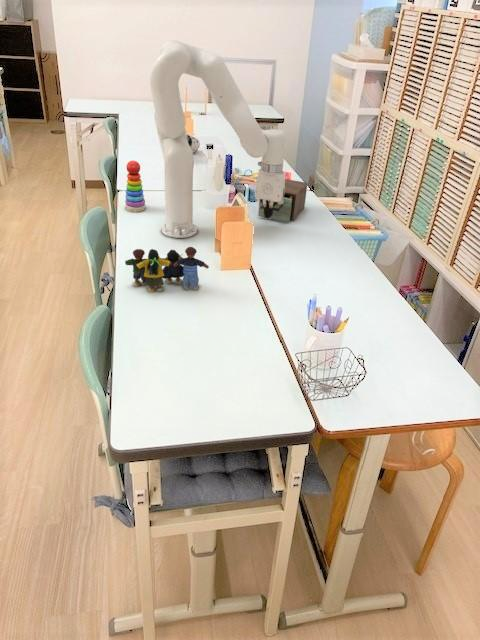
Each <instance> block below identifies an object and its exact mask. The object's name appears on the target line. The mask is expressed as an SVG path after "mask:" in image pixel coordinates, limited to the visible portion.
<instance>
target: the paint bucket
mask: <svg viewBox="0 0 480 640" xmlns="http://www.w3.org/2000/svg"><path fill="white" fill-rule="evenodd" d="M186 135H187V140H188V144H189V146H190V148H191V150H192V152H193V154H194V153H196V152H198V150H199V149H198V148H200V144H201V143H200V140H199V139H198V138H197V137H195V136H192V135H190V134H186Z"/></svg>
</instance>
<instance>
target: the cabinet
mask: <svg viewBox="0 0 480 640" xmlns="http://www.w3.org/2000/svg"><path fill="white" fill-rule="evenodd" d="M307 189H308V182H306V181H305V182H304V181H301V180H294V179H287V178H285V195H290V196H294V200H293V209H292V216H291V217H290V221H289V222H294V221H295V220H296V218H297V217H299V215H300V214H301V213H302V211H303V210H304V209H305V206H306V198H307Z"/></svg>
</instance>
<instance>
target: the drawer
mask: <svg viewBox="0 0 480 640" xmlns="http://www.w3.org/2000/svg"><path fill="white" fill-rule="evenodd" d="M283 199H284V203H283V204H276V205H275V206H274V207H273V215H272V216H271V217H270V218H269V219H270V220H271V219H272V220H277V221H281V222H285V223H289V222H291V221H290V217H291V216H292V209H293V200H294V196H290V195H285V194H284V198H283ZM269 205H270V201H269ZM257 216H258V217H262V218H265V215H264V207H263V204H262V203H261V201H259V200H258V213H257Z"/></svg>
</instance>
